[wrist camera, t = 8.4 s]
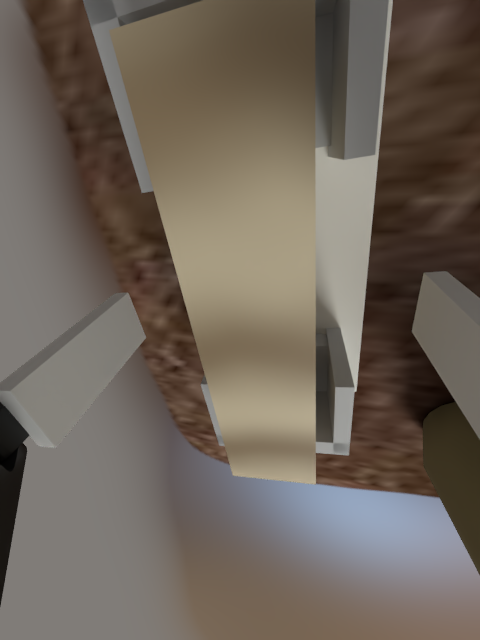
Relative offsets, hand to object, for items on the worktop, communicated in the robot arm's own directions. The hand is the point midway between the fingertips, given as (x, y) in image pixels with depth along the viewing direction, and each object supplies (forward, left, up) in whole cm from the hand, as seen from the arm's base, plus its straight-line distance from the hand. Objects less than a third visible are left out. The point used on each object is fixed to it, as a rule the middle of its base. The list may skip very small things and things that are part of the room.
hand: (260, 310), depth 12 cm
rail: (0, 0, -5) cm, 5 cm away
